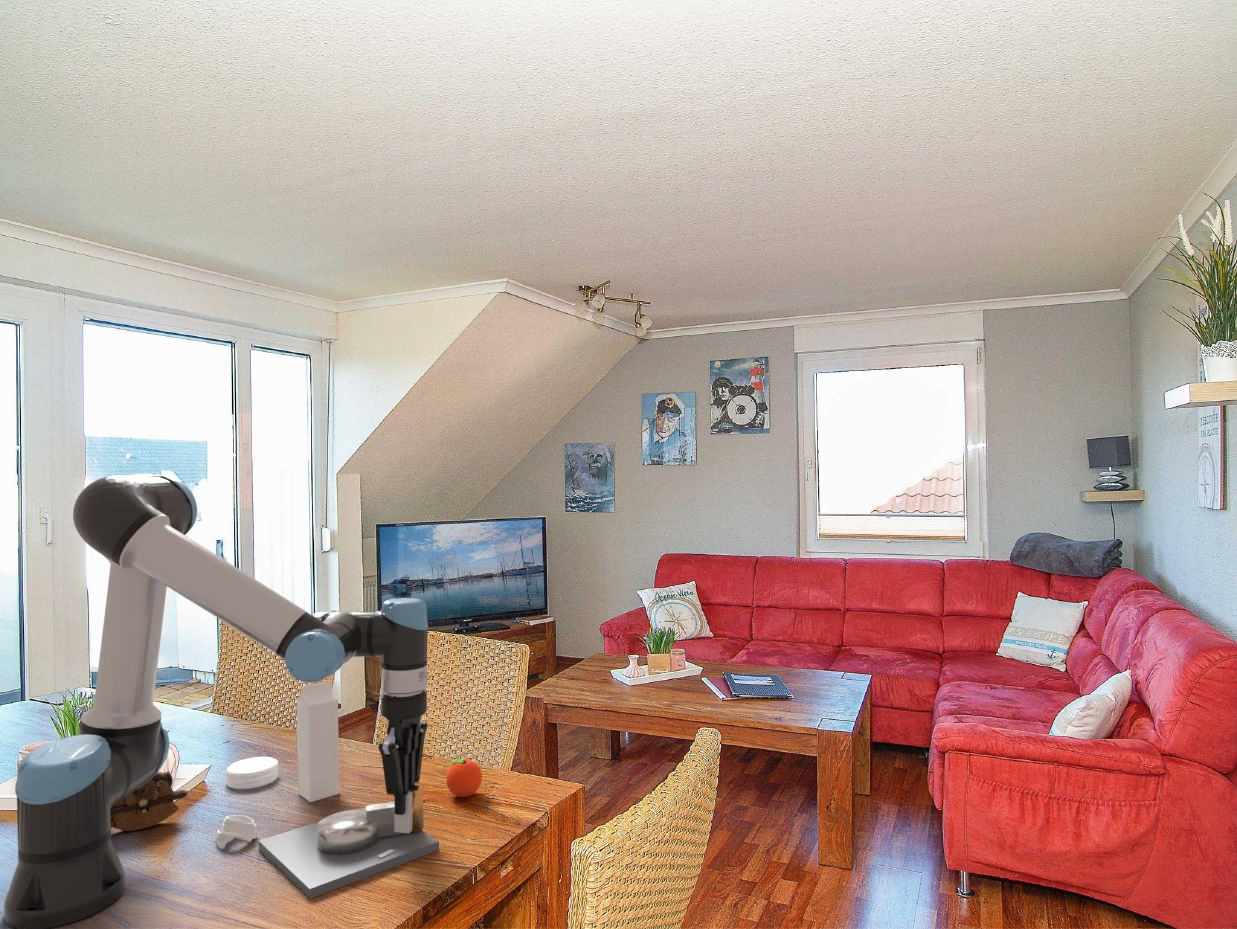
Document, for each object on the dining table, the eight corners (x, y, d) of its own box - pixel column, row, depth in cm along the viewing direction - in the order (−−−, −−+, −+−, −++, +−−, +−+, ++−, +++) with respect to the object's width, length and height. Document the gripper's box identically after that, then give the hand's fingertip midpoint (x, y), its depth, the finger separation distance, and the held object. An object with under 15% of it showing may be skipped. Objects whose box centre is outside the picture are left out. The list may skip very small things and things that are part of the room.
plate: (309, 898, 123) (309, 887, 123) (258, 849, 139) (258, 839, 139) (439, 850, 138) (438, 840, 138) (379, 810, 154) (379, 801, 154)
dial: (316, 858, 132) (315, 813, 132) (317, 832, 142) (317, 790, 142) (426, 840, 138) (425, 797, 138) (420, 816, 147) (420, 776, 147)
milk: (339, 794, 162) (338, 683, 162) (309, 803, 158) (308, 689, 158) (326, 785, 167) (325, 677, 167) (297, 793, 163) (296, 683, 163)
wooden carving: (84, 846, 142) (83, 788, 142) (84, 836, 145) (83, 780, 145) (190, 821, 151) (189, 767, 151) (187, 813, 155) (187, 760, 155)
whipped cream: (211, 843, 144) (207, 816, 144) (251, 828, 148) (247, 802, 148) (223, 856, 138) (218, 828, 138) (264, 840, 142) (260, 813, 142)
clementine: (435, 801, 158) (434, 764, 158) (450, 787, 165) (450, 751, 165) (473, 804, 156) (473, 767, 156) (487, 790, 163) (487, 754, 163)
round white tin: (260, 791, 165) (260, 774, 165) (215, 789, 166) (215, 772, 166) (288, 773, 174) (287, 756, 174) (245, 771, 176) (245, 754, 176)
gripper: (406, 702, 131) (404, 850, 131) (441, 683, 144) (440, 817, 143) (364, 699, 133) (362, 845, 133) (402, 680, 145) (401, 813, 145)
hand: (403, 830), depth 138 cm, fingers closed
